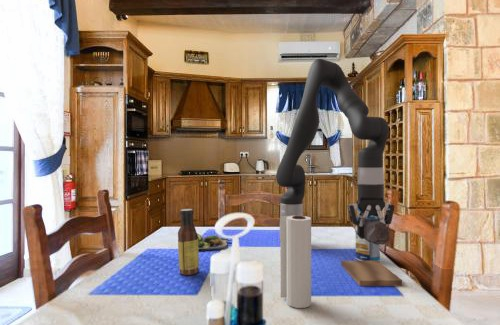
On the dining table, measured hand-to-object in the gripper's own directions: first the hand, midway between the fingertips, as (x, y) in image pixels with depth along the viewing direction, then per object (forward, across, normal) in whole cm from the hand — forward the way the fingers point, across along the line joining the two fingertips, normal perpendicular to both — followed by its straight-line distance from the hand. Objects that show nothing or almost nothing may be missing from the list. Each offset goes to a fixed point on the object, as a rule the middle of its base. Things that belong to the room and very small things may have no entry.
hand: (370, 237), depth 95 cm
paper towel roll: (+12, +25, +17) cm, 33 cm away
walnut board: (+12, 0, -1) cm, 12 cm away
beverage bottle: (+12, -5, -15) cm, 20 cm away
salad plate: (+12, +55, -35) cm, 66 cm away
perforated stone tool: (+1, 0, 0) cm, 1 cm away
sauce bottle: (+12, +56, -4) cm, 58 cm away
